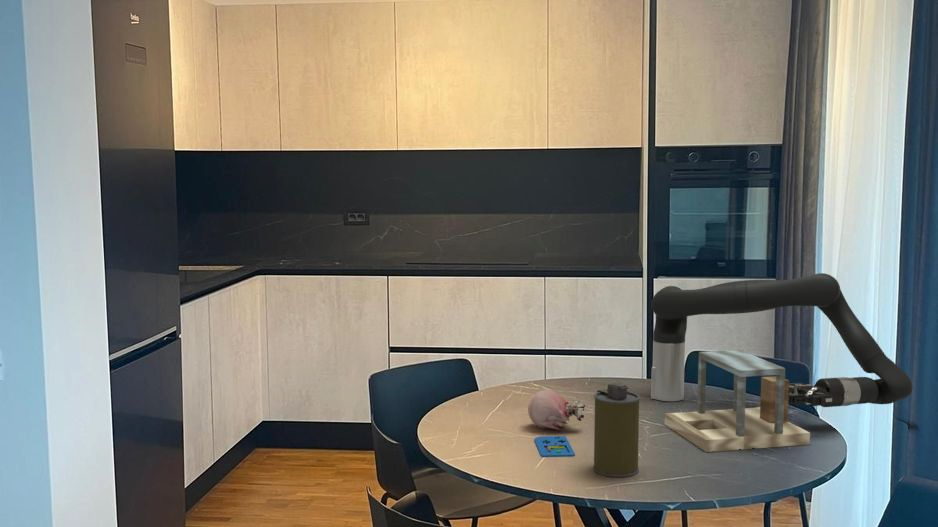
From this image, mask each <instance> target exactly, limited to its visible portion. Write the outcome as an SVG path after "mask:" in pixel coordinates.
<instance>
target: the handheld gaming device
mask: <svg viewBox="0 0 938 527" xmlns="http://www.w3.org/2000/svg"><path fill="white" fill-rule="evenodd" d="M533 440H534V443H535V446H536V448H537V450H538V453H539V456H540V457H541V458H562V457H563V458H565V457H568V458H569V457H570V458H572V457H575V456H576V452H575V451H574V449H573V447H572V446H571V443H570V441H569V439H567V437H566V435H545V436H544V435H543V436H542V435H541V436H537V437H534V439H533Z"/></svg>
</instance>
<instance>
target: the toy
mask: <svg viewBox="0 0 938 527" xmlns="http://www.w3.org/2000/svg"><path fill="white" fill-rule="evenodd" d="M568 404H569V405H568ZM577 404H578V405H577ZM585 407H586V405H585V404H583V403H582V402H580V400H575V401H574V402H572V401H569V400H567V399H565V398H564V397H563V396H562V395H560V394H559V393H557V392H556V391H554V390H550V389H545V390H544V389H543V390H539V391H537V392H536V393H535V394H534V395H533V397H532V399H531V400H530V402H529V404H528V406H527V413H528V416H529V419H530V420H531V422H532V423H533V424H534V425H536V426H537V427H539V428H542V429H548V428H549V429H551V430H553V431H555V430H557V431H559V432H561V429H559V428H558V427H564V426H565V425H566V426H569V423H568V422H570V419H569V418H570V417H573V416H575V417H576V419H577V421H579V422H581V421H582V419H583V418H585V415H584V414H583V412H584V411H585ZM567 421H568V422H567Z"/></svg>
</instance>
